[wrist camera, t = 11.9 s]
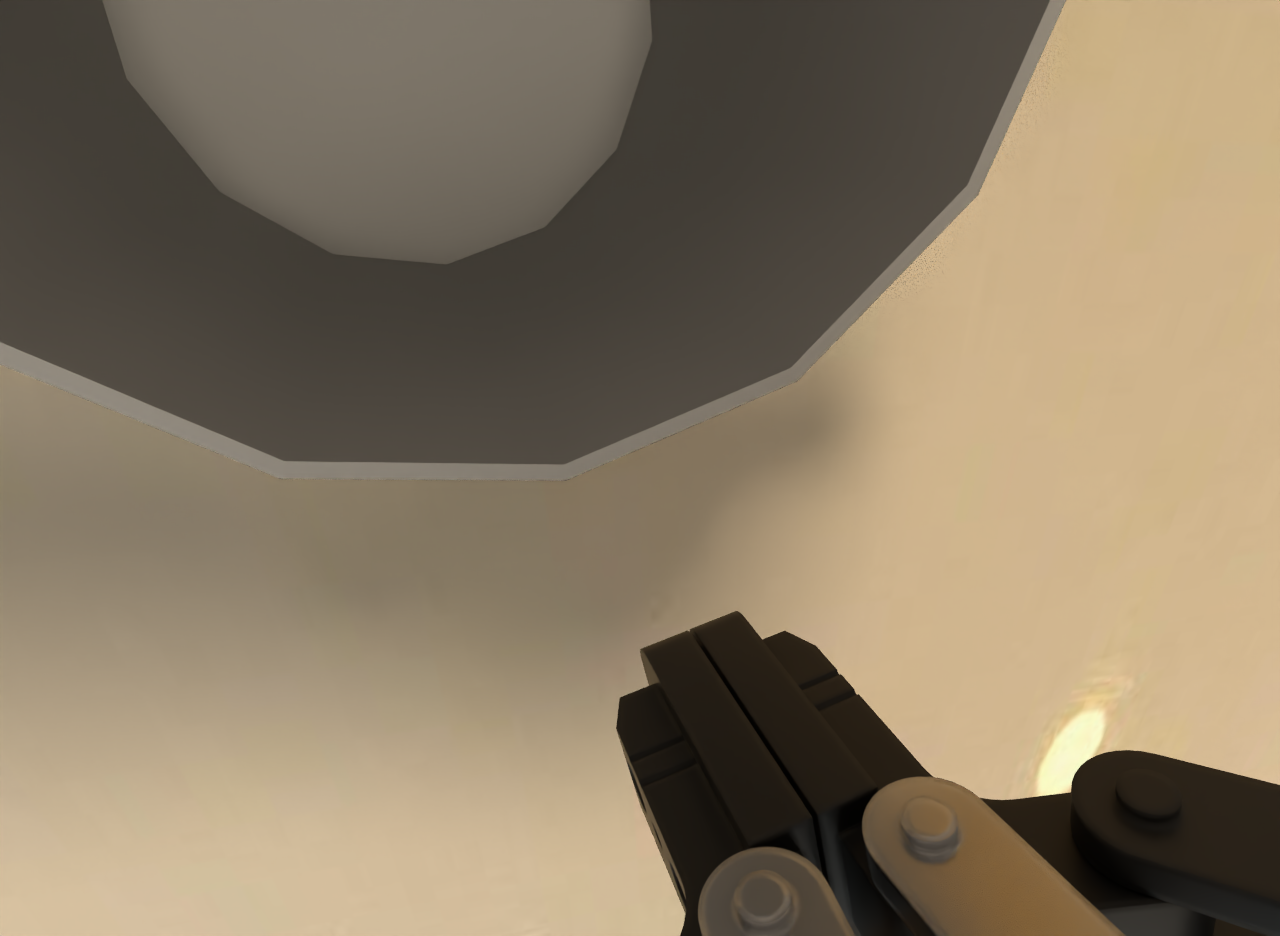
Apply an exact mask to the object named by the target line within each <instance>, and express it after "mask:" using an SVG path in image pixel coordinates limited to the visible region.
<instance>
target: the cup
mask: <svg viewBox="0 0 1280 936" xmlns="http://www.w3.org/2000/svg"><path fill="white" fill-rule="evenodd" d="M1065 2H1066V0H0V365H2V366H5V367H7V368H9V369H12V370H14V371H17V372H19V373H22V374H24V375H27V376H29V377H31V378H34V379H36V380H39V381H41V382H44V383H46V384H49V385H51V386H54V387H56V388H58V389H61V390H63V391H66V392H68V393H71V394H73V395H76V396H78V397H80V398H83V399H85V400H88V401H90V402H93V403H95V404H98V405H100V406H103V407H105V408H107V409H110V410H112V411H115V412H117V413H120V414H122V415H125V416H127V417H129V418H132V419H134V420H137V421H139V422H142V423H144V424H147V425H149V426H152V427H154V428H156V429H159V430H161V431H164V432H166V433H169V434H171V435H174V436H176V437H178V438H181V439H183V440H186V441H188V442H191V443H193V444H196V445H198V446H200V447H203V448H205V449H208V450H210V451H213V452H215V453H218V454H220V455H223V456H225V457H227V458H230V459H232V460H235V461H237V462H240V463H242V464H245V465H247V466H249V467H252V468H254V469H257V470H259V471H262V472H264V473H267V474H269V475H272V476H274V477H276V478H279V479H355V480H556V481H566V480H569V479H571V478H573V477H576V476H578V475H580V474H583V473H585V472H587V471H590V470H592V469H594V468H597V467H599V466H601V465H604V464H606V463H608V462H611V461H613V460H615V459H618V458H620V457H622V456H625V455H627V454H629V453H632V452H634V451H636V450H639V449H641V448H643V447H646V446H648V445H650V444H653V443H655V442H657V441H659V440H662V439H664V438H666V437H669V436H671V435H673V434H676V433H678V432H680V431H683V430H685V429H687V428H690V427H692V426H694V425H697V424H699V423H701V422H704V421H706V420H708V419H711V418H713V417H715V416H718V415H720V414H722V413H725V412H727V411H729V410H732V409H734V408H736V407H739V406H741V405H743V404H746V403H748V402H750V401H753V400H755V399H757V398H760V397H762V396H764V395H767V394H769V393H771V392H774V391H776V390H778V389H781V388H783V387H785V386H787V385H790V384H792V383H794V382H797V381H798V380H799V379H800V378H801V377H802V376H803V375H804V374H805V373H806V372H807V371H808V370H809V369H810V368H811V367H812V366H813V365H814V364H815V362H816V361H817V360H818V359H819V358H820V357H821V356H822V355H823V354H824V353H825V352H826V351H827V350H828V349H829V348H830V347H831V346H832V345H833V344H834V343H835V342H836V341H837V340H838V339H839V338H840V337H841V336H842V335H843V334H844V333H845V332H846V331H847V330H848V328H849V327H850V326H851V325H852V324H853V323H854V322H855V321H856V320H857V319H858V318H859V317H860V316H861V315H862V314H863V313H864V312H865V311H866V310H867V309H868V308H869V307H870V306H871V305H872V304H873V303H874V302H875V301H876V300H877V299H878V298H879V297H880V295H881V294H882V293H883V292H884V291H885V290H886V289H887V288H888V287H889V286H890V285H891V284H892V283H893V282H894V281H895V280H896V279H897V278H898V277H899V276H900V275H901V274H902V273H903V272H904V271H905V270H906V269H907V268H908V267H909V266H910V265H911V264H912V262H913V261H914V260H915V259H916V258H917V257H918V256H919V255H920V254H921V253H922V252H923V251H924V250H925V249H926V248H927V247H928V246H929V245H930V244H931V243H932V242H933V241H934V240H935V239H936V238H937V237H938V236H939V235H940V234H941V233H942V232H943V231H944V230H945V228H946V227H947V226H948V225H949V224H950V223H951V222H952V221H953V220H954V219H955V218H956V217H957V216H958V215H959V214H960V213H961V212H962V211H963V210H964V209H965V208H966V207H967V206H968V205H969V204H970V203H971V202H972V201H973V200H974V199H975V198H976V197H977V195H978V194H979V192H980V189H981V187H982V185H983V183H984V181H985V178H986V176H987V174H988V172H989V169H990V167H991V165H992V163H993V161H994V158H995V156H996V154H997V152H998V150H999V147H1000V145H1001V143H1002V141H1003V139H1004V136H1005V134H1006V132H1007V130H1008V127H1009V125H1010V123H1011V121H1012V119H1013V116H1014V114H1015V112H1016V110H1017V108H1018V105H1019V103H1020V101H1021V99H1022V97H1023V94H1024V92H1025V90H1026V88H1027V86H1028V83H1029V81H1030V79H1031V77H1032V74H1033V72H1034V70H1035V68H1036V66H1037V63H1038V61H1039V59H1040V57H1041V55H1042V52H1043V50H1044V48H1045V46H1046V44H1047V41H1048V39H1049V37H1050V35H1051V32H1052V30H1053V28H1054V26H1055V24H1056V21H1057V19H1058V17H1059V15H1060V13H1061V10H1062V8H1063V6H1064V4H1065Z"/></svg>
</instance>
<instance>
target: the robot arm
mask: <svg viewBox="0 0 1280 936" xmlns="http://www.w3.org/2000/svg"><path fill="white" fill-rule="evenodd" d="M640 653H641V658H642V662H643V666H644V669H645V673H646V676H647V680H648V684H649V686H647V687H645V688H643V689H640V690H638V691H635V692H633V693H630V694H628V695H625V696H623V697H620V701H619V709H618V718H617V727H616V729H617V732H618V735H619V739H620V742H621V745H622V748H623V751H624V754H625V758H626V761H627V764H628V767H629V770H630V774H631V777H632V780H633V783H634V786H635V790H636V793H637V796H638V799H639V802H640V805H641V808H642V810H643V813H644V815H645V817H646V820H647V822H648V825H649V827H650V829H651V832H652V834H653V836H654V838H655V841H656V844H657V846H658V849H659V851H660V853H661V856H662V858H663V861H664V862H665V865H666V868H667V870H668V873H669V875H670V877H671V880H672V882H673V885H674V887H675V889H676V892H677V894H678V897H679V899H680V901H681V904H682V906H683V909H684V911H685V913H686V915H685V921H684V926H683V929H682V932H681V935H680V936H1280V785H1277V784H1273V783H1269V782H1265V781H1261V780H1257V779H1253V778H1249V777H1245V776H1241V775H1237V774H1233V773H1229V772H1225V771H1221V770H1217V769H1213V768H1209V767H1205V766H1201V765H1197V764H1193V763H1189V762H1185V761H1181V760H1177V759H1173V758H1169V757H1165V756H1161V755H1157V754H1152V753H1147V752H1142V751H1131V750H1125V751H1113V752H1107V753H1103V754H1100V755H1097V756H1095V757H1093V758H1091V759H1089V760H1087V761H1086V762H1085V763H1084V764H1083V765H1081V766H1080V768H1079V769H1078V770H1077V772H1076V773H1075V775H1074V778H1073V781H1072V788H1071V793H1063V794H1055V795H1047V796H1039V797H1031V798H1023V799H1014V800H990V799H984V798H979V797H978V796H976V795H975V794H974V793H973V792H971V791H970V790H968V789H966V788H965V787H963V786H961V785H958V784H956V783H954V782H951V781H948V780H944V779H941V778H934V777H933V776H931V775H930V774H929V773H928V772H927V771H926V770H925V769H924V768H923V767H922V766H921V764H920V763H919V762H918V761H917V760H916V759H915V758H914V756H913V755H912V754H911V753H910V752H909V751H908V750H907V749H906V747H905V746H904V745H903V744H902V743H901V742H900V741H899V739H898V738H897V737H896V736H895V735H894V734H893V733H892V732H891V730H890V729H889V728H888V727H887V726H886V725H885V724H884V722H883V721H882V720H881V719H880V718H879V717H878V716H877V715H876V713H875V712H874V711H873V710H872V709H871V708H870V707H869V705H868V704H867V703H866V702H865V701H864V700H863V699H862V698H861V696H860V695H859V694H858V695H857V694H856V693H855V691H854V688H853V687H852V686H851V685H850V684H849V683H848V682H847V681H846V679H845V678H844V677H843V676H842V675H841V674H840V675H839V674H838V672H837V669H836V668H835V667H834V666H833V665H832V664H831V662H830V661H829V660H828V659H827V658H826V657H825V656H824V655H823V653H822V652H821V651H820V650H819V649H818V648H817V647H816V646H815V645H813V644H811V643H809V642H807V641H805V640H803V639H801V638H799V637H797V636H795V635H793V634H791V633H788V632H786V631H783V632H780V633H778V634H775V635H773V636H770V637H768V638H766V639H763V640H762V639H761V638H760V636H759V635H758V634H757V633H756V631H755V630H754V629H753V627H752V626H751V625H750V624H749V622H748V621H747V620H746V619H745V617H744V616H743V615H742V614H741V613H740V612H738V611H735V612H732V613H730V614H727V615H725V616H722V617H720V618H717V619H715V620H712V621H710V622H707V623H705V624H702V625H700V626H697V627H694V628H692V629H690V632H689V631H685V632H682V633H680V634H677V635H675V636H672V637H670V638H667V639H665V640H662V641H660V642H657V643H654V644H652V645H649V646H647V647H644V648H642V649H640Z"/></svg>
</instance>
